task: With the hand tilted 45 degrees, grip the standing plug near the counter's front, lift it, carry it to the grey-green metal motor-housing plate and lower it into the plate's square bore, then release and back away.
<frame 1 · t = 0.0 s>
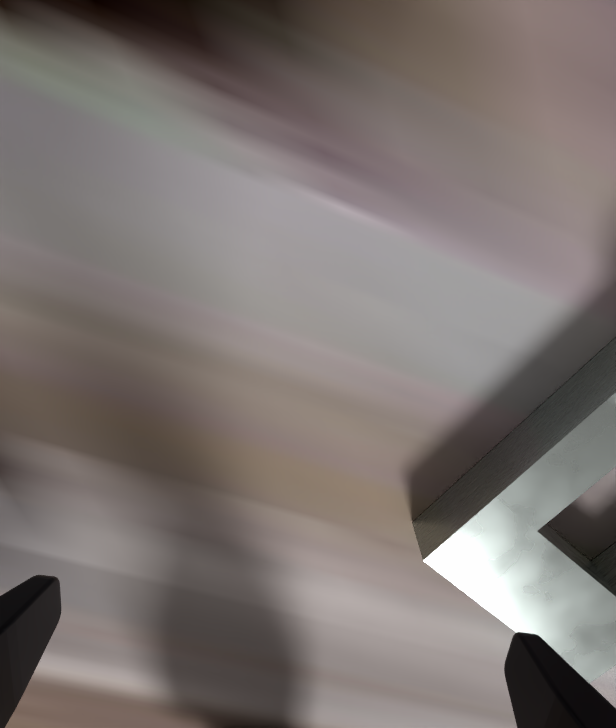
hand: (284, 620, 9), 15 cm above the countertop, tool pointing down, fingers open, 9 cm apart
housing: (598, 491, 24), on the countertop
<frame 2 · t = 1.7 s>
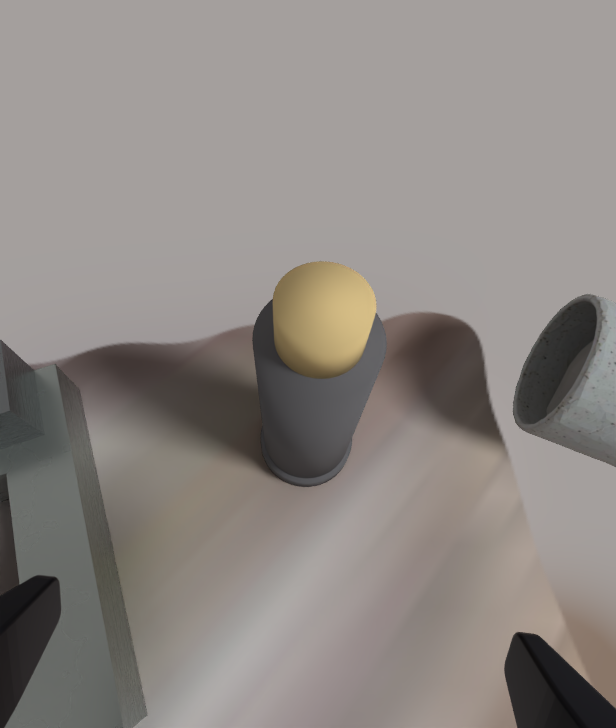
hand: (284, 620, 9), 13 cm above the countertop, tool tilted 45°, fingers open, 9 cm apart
ceramic mug: (577, 398, 27), on the countertop
plug: (305, 442, 24), on the countertop
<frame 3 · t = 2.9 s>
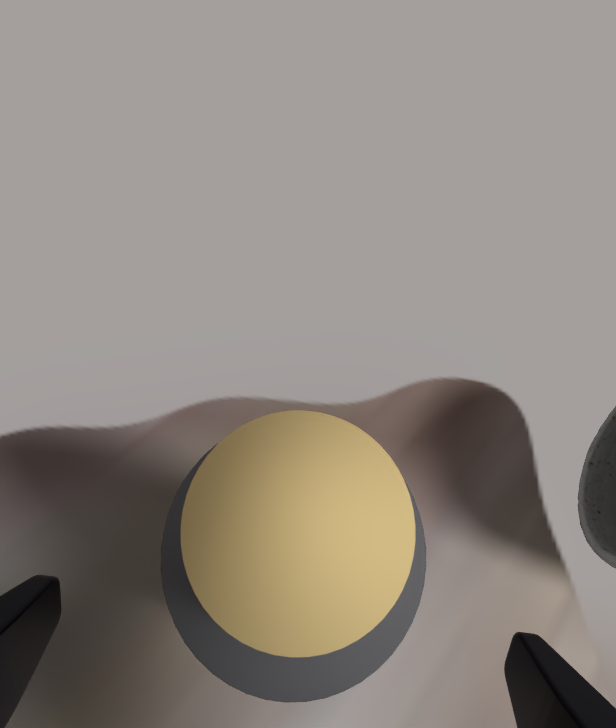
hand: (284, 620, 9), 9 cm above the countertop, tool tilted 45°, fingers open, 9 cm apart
plug: (288, 579, 17), on the countertop
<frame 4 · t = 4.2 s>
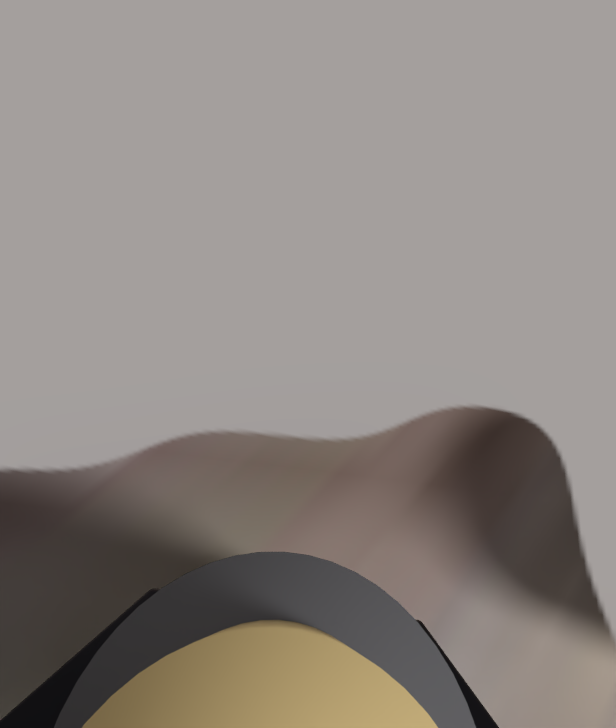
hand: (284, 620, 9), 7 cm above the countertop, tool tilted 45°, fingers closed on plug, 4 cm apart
plug: (278, 664, 14), on the countertop, touching gripper
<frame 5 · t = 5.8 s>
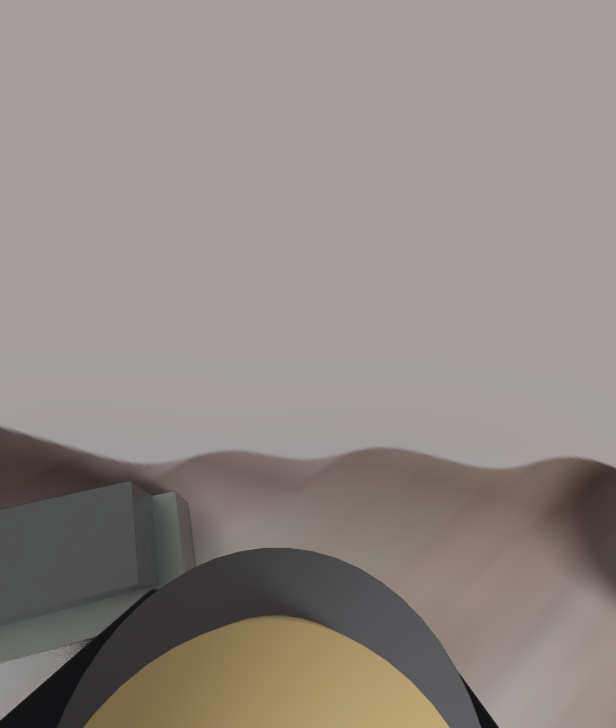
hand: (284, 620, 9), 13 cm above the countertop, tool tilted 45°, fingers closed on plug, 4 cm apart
plug: (279, 662, 14), point 7 cm above the countertop, touching gripper
when the fingers open (7 cm above the countertop, at t = 7.8 s): plug stays where it is, resting in housing.
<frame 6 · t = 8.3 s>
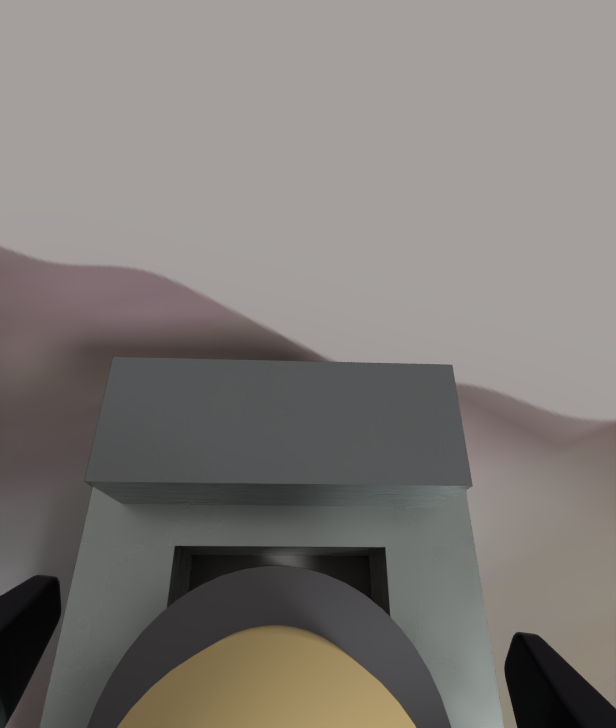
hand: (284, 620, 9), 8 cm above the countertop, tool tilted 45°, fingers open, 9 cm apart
plug: (278, 662, 15), resting in housing
housing: (278, 660, 15), on the countertop
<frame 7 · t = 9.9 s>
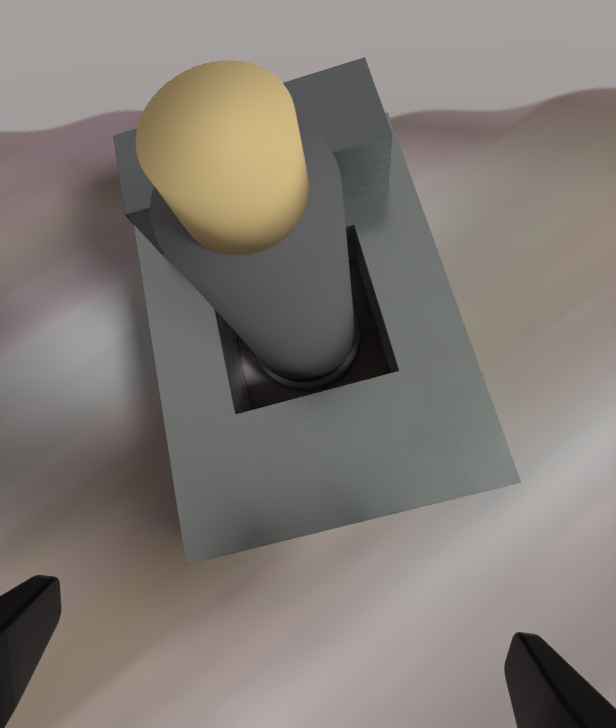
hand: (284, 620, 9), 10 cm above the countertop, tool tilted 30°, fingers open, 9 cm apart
plug: (307, 339, 21), resting in housing
housing: (306, 338, 21), on the countertop
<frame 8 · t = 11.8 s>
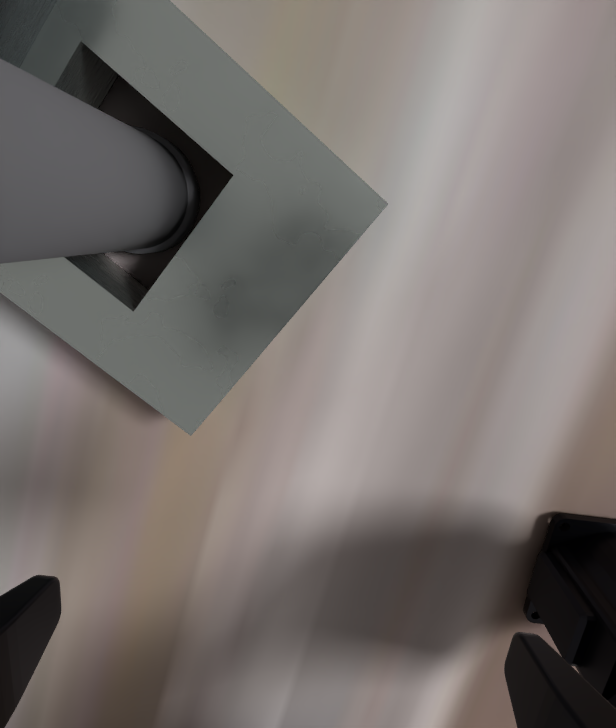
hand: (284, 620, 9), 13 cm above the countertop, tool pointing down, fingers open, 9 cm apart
plug: (143, 194, 19), resting in housing
housing: (142, 193, 19), on the countertop
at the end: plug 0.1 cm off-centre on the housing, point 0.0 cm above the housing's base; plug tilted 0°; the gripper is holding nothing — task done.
